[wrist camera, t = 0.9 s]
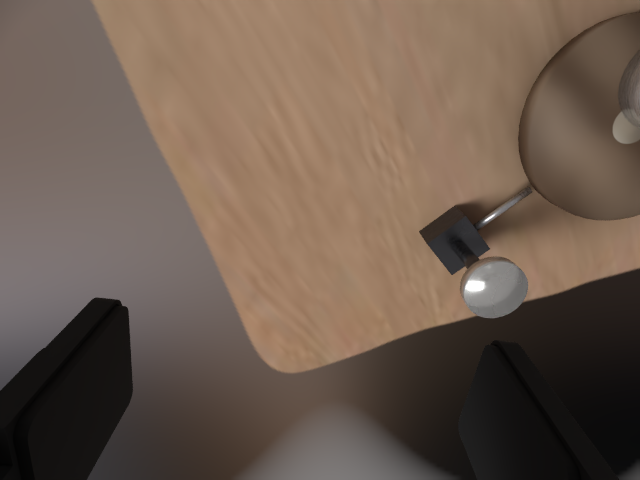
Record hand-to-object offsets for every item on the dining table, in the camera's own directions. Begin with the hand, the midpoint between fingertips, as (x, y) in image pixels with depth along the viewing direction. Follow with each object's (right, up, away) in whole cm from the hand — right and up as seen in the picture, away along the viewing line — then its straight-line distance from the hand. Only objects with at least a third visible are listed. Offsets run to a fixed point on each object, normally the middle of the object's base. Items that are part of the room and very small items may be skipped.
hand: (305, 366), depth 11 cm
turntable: (+25, +13, +23) cm, 37 cm away
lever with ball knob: (+15, +5, +27) cm, 31 cm away
